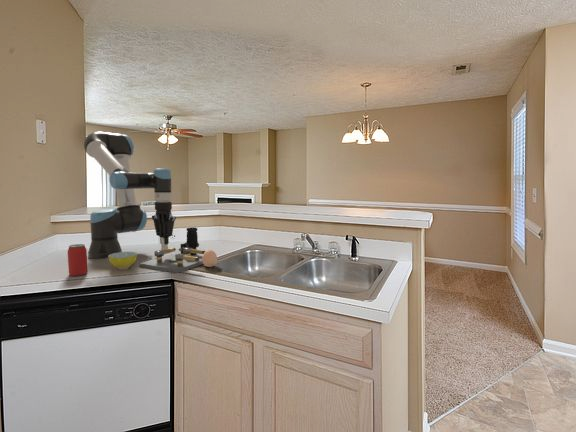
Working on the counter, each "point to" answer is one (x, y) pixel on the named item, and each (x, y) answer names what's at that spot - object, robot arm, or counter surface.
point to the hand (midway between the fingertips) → (164, 250)
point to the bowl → (122, 259)
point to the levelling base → (170, 264)
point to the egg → (209, 258)
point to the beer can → (77, 260)
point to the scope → (190, 240)
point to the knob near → (162, 253)
